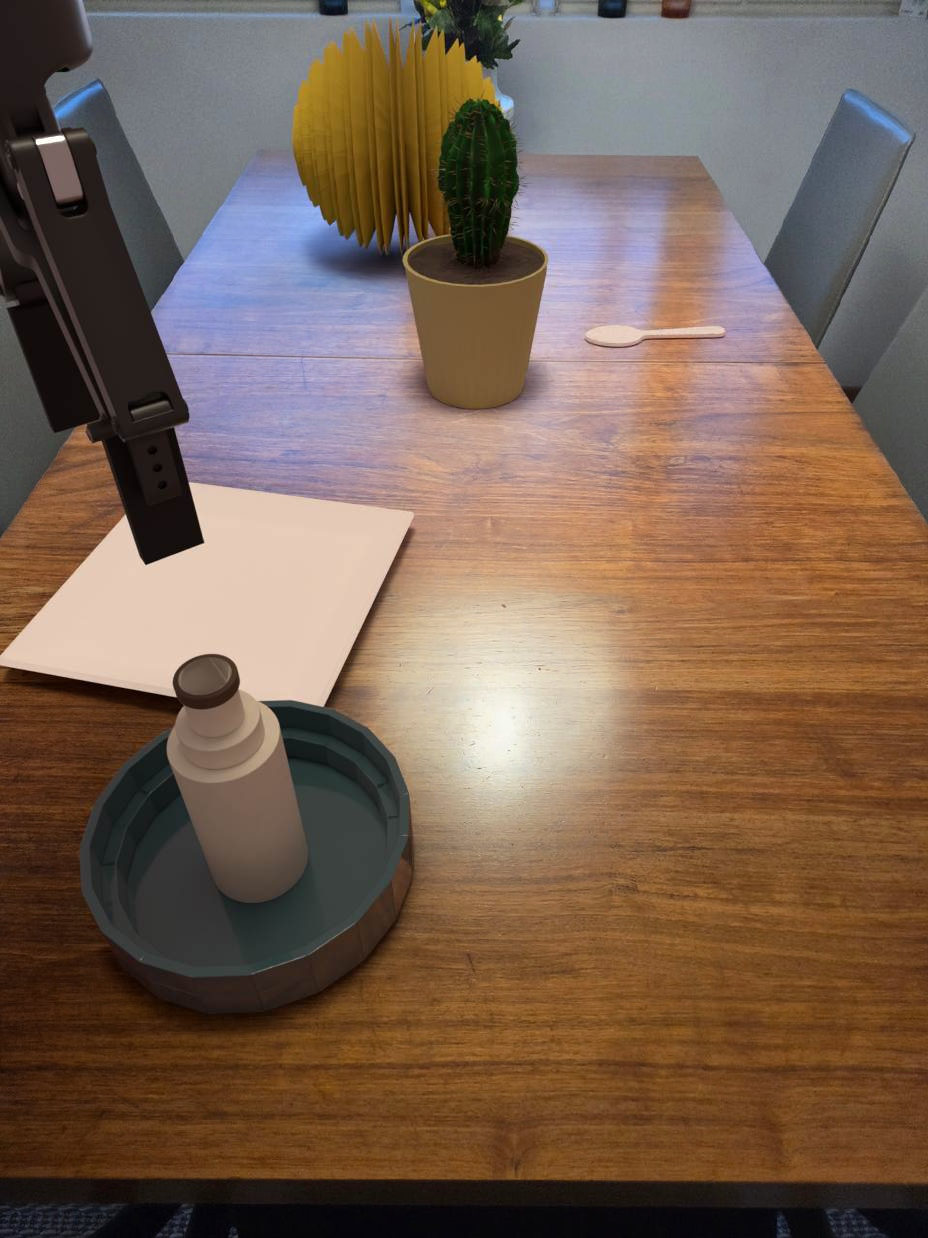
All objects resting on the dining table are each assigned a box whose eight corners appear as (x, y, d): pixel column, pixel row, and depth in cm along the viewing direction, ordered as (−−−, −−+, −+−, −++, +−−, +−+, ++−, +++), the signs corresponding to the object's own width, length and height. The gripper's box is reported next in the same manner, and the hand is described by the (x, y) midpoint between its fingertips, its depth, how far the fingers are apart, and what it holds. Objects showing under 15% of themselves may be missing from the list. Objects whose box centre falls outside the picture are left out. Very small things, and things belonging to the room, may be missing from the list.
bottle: (219, 916, 52) (148, 735, 41) (206, 836, 57) (138, 650, 45) (317, 885, 54) (275, 701, 42) (297, 809, 58) (254, 623, 47)
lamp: (511, 287, 124) (517, 33, 103) (298, 293, 123) (262, 38, 102) (496, 216, 146) (499, -4, 125) (315, 221, 145) (289, -1, 125)
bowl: (114, 1069, 47) (86, 1030, 43) (97, 792, 60) (74, 745, 57) (454, 951, 51) (453, 907, 48) (368, 718, 65) (362, 671, 61)
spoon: (730, 341, 110) (731, 337, 110) (589, 347, 109) (589, 343, 109) (718, 323, 114) (718, 319, 114) (581, 329, 113) (581, 325, 113)
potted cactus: (397, 364, 106) (379, 80, 86) (517, 348, 109) (527, 70, 89) (426, 427, 95) (414, 118, 75) (559, 407, 98) (582, 105, 78)
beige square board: (319, 739, 63) (315, 720, 62) (1, 680, 68) (-9, 661, 66) (416, 528, 82) (415, 509, 81) (162, 493, 87) (157, 475, 85)
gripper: (201, -48, 22) (308, 585, 37) (-27, -98, 38) (112, 364, 52) (-121, -23, 19) (133, 658, 34) (-227, -88, 34) (-21, 400, 49)
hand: (121, 480), depth 43 cm, fingers open, 13 cm apart
